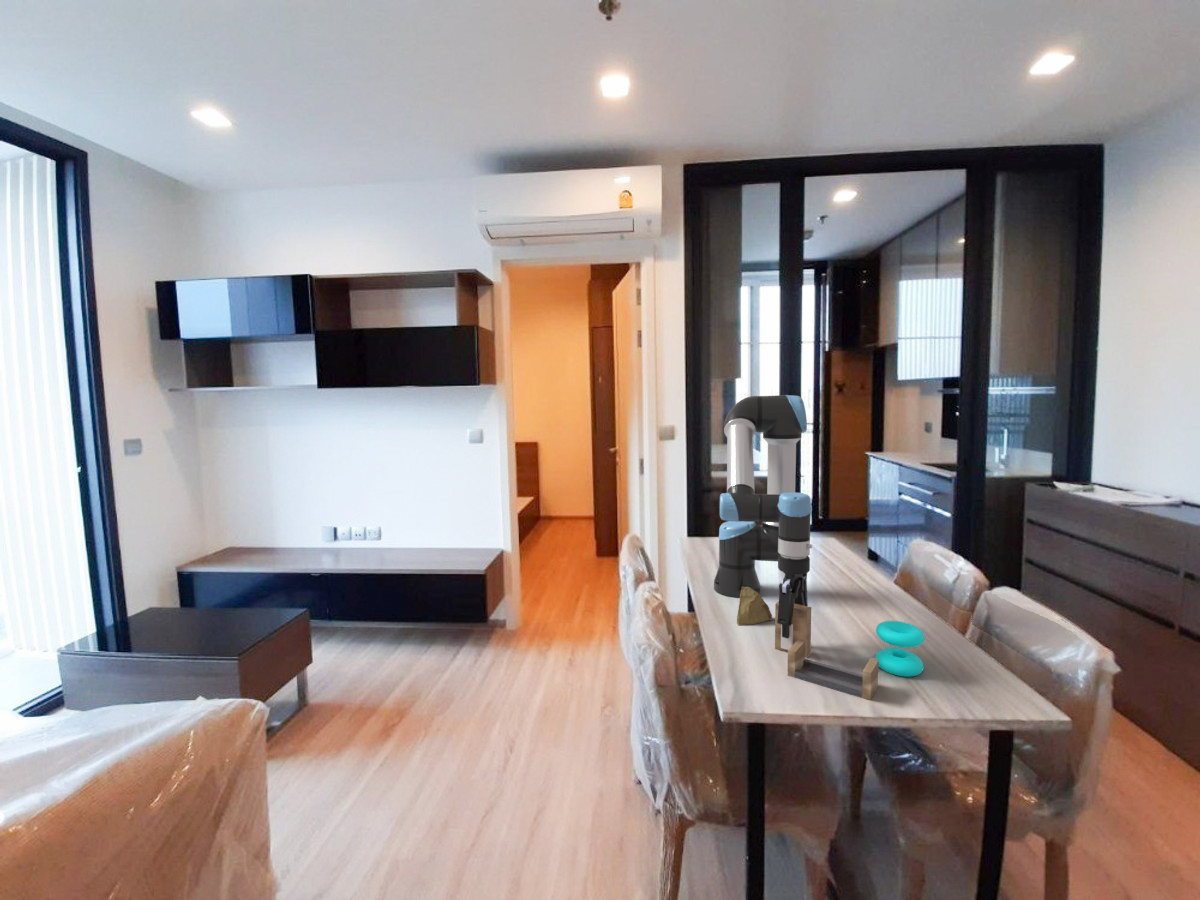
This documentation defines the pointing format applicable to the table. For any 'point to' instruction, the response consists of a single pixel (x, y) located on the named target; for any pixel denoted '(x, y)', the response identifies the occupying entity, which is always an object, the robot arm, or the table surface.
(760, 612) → the rock
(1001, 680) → the table surface
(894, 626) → the donuts
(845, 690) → the track
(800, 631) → the door panel
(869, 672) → the frame posts
